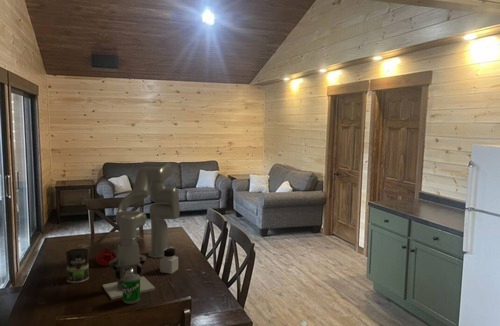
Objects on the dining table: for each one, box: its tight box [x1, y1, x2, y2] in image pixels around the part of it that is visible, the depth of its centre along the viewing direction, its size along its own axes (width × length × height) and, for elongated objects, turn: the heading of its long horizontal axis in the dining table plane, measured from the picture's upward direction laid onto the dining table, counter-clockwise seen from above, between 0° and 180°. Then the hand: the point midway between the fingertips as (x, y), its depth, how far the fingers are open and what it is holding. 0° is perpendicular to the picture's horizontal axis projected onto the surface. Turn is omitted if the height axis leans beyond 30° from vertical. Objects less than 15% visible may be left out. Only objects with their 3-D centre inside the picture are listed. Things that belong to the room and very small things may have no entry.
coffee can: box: [65, 248, 90, 284], centre depth 195 cm, size 10×10×14 cm
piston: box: [122, 265, 135, 277], centre depth 186 cm, size 5×5×9 cm
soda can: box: [121, 271, 141, 305], centre depth 172 cm, size 8×8×12 cm
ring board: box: [102, 275, 156, 300], centre depth 186 cm, size 20×16×4 cm
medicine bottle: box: [159, 248, 179, 275], centre depth 209 cm, size 7×7×12 cm
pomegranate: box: [95, 247, 116, 267], centre depth 216 cm, size 10×10×9 cm
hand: (128, 276), depth 186 cm, fingers open, 9 cm apart
